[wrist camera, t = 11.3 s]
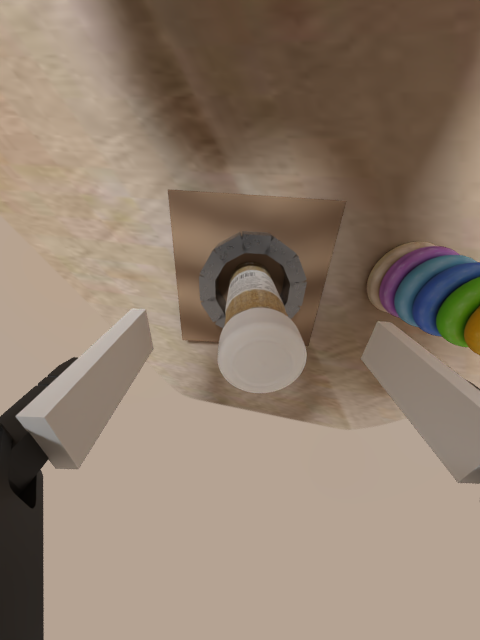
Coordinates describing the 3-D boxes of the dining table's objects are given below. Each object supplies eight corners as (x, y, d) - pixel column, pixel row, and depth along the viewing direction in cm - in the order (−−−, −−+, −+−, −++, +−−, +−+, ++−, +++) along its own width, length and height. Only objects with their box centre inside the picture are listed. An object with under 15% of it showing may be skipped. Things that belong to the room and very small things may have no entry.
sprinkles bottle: (234, 304, 23) (228, 402, 11) (224, 265, 21) (204, 335, 9) (274, 296, 23) (311, 390, 11) (268, 255, 20) (306, 316, 9)
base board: (172, 191, 19) (167, 189, 18) (339, 201, 20) (346, 201, 18) (185, 333, 27) (182, 339, 25) (304, 339, 27) (308, 345, 26)
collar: (203, 228, 19) (196, 231, 17) (306, 234, 20) (316, 238, 17) (205, 320, 24) (201, 333, 21) (288, 324, 24) (294, 338, 22)
